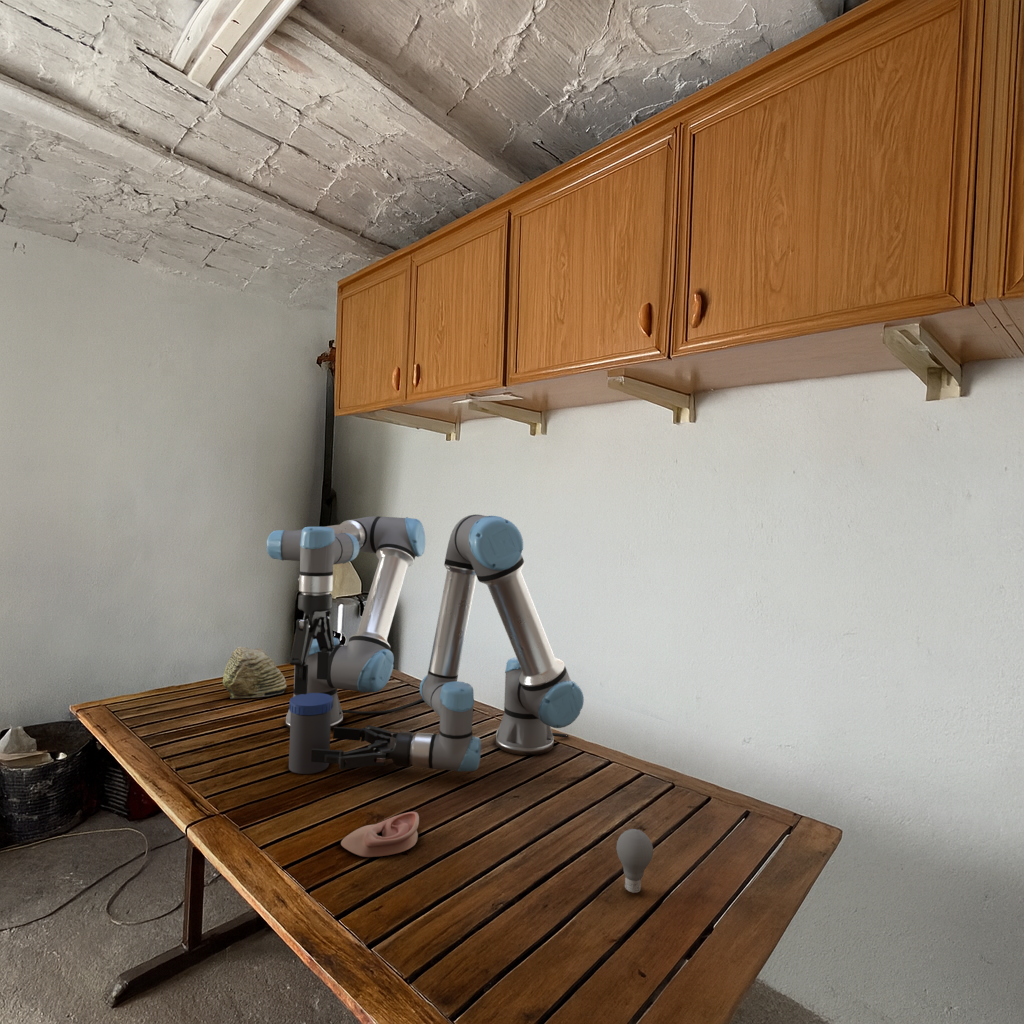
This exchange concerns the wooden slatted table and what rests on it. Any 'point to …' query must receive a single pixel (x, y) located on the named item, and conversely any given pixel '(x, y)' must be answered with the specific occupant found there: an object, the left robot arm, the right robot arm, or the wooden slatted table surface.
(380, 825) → the anatomical model
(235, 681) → the fossil
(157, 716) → the wooden slatted table surface
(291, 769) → the jar
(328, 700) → the lid
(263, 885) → the wooden slatted table surface
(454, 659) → the right robot arm
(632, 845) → the light bulb
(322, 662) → the left robot arm
